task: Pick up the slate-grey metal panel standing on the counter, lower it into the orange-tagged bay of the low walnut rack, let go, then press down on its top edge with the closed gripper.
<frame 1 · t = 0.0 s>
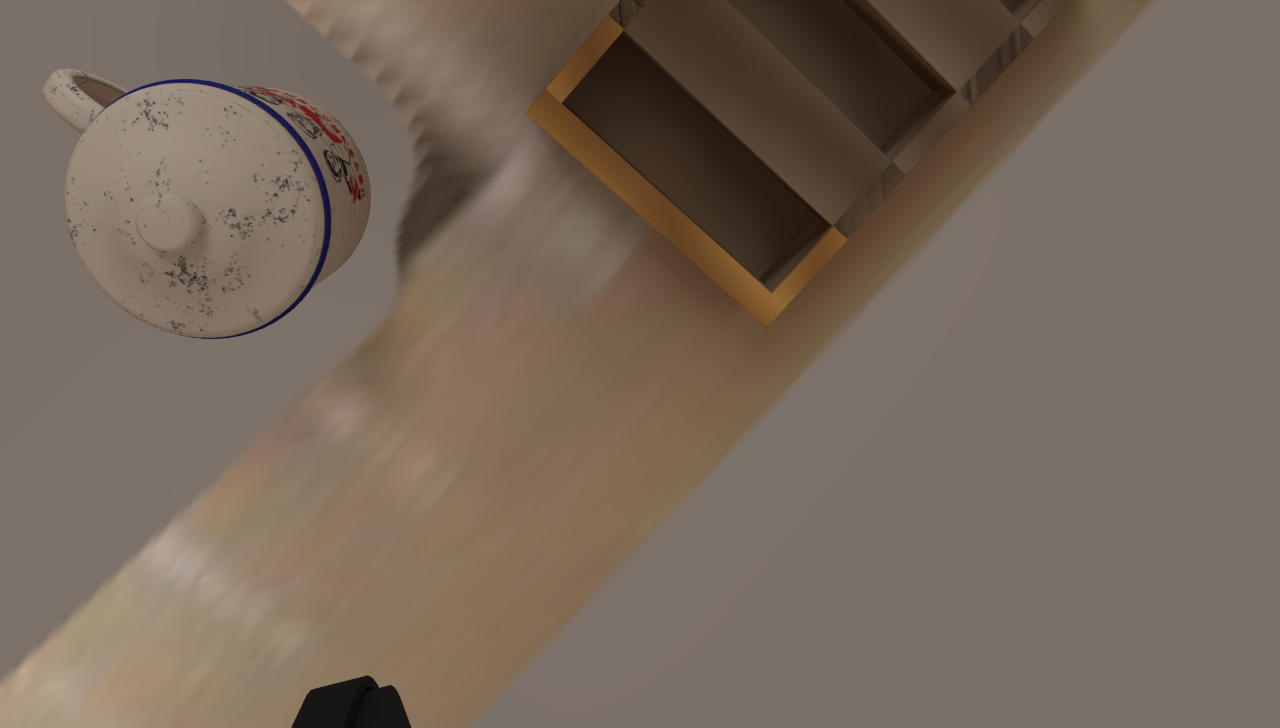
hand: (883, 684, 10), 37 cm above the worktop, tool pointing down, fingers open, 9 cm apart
teacup with lid: (244, 168, 44), on the worktop
rack: (800, 32, 44), on the worktop
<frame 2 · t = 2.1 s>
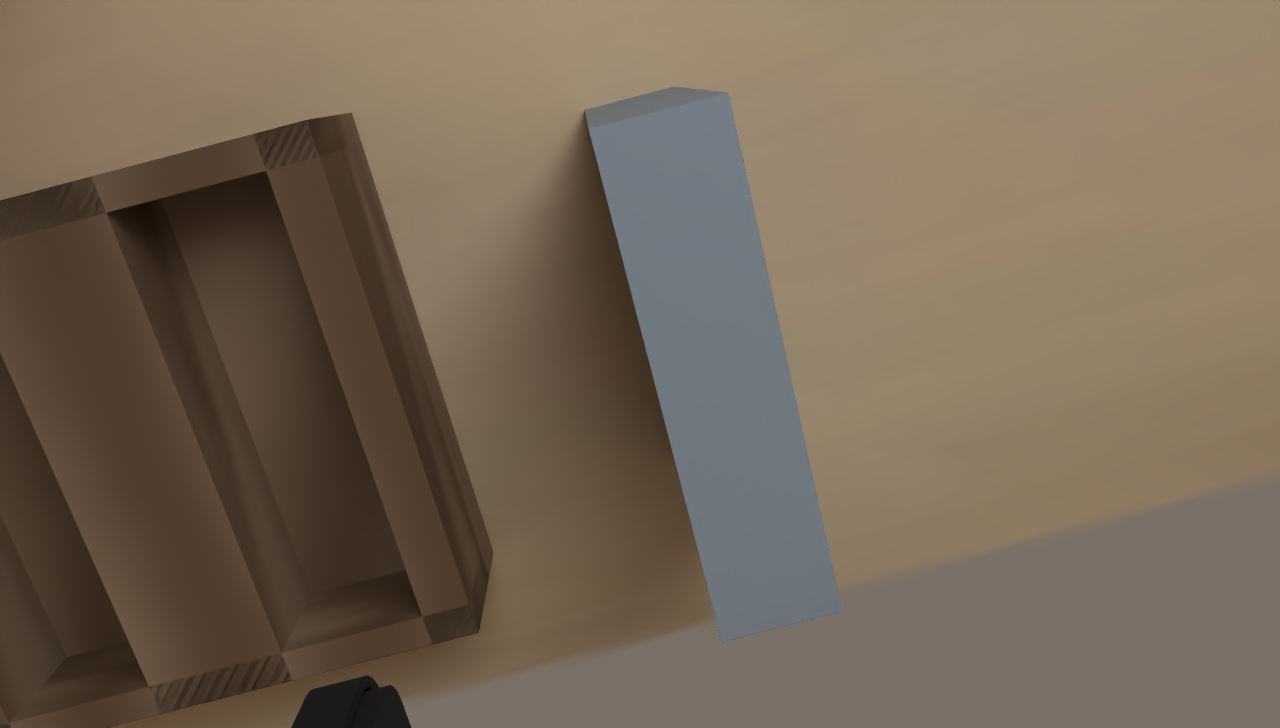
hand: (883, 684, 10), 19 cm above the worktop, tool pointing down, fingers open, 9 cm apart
panel: (674, 281, 28), on the worktop
rack: (74, 437, 28), on the worktop
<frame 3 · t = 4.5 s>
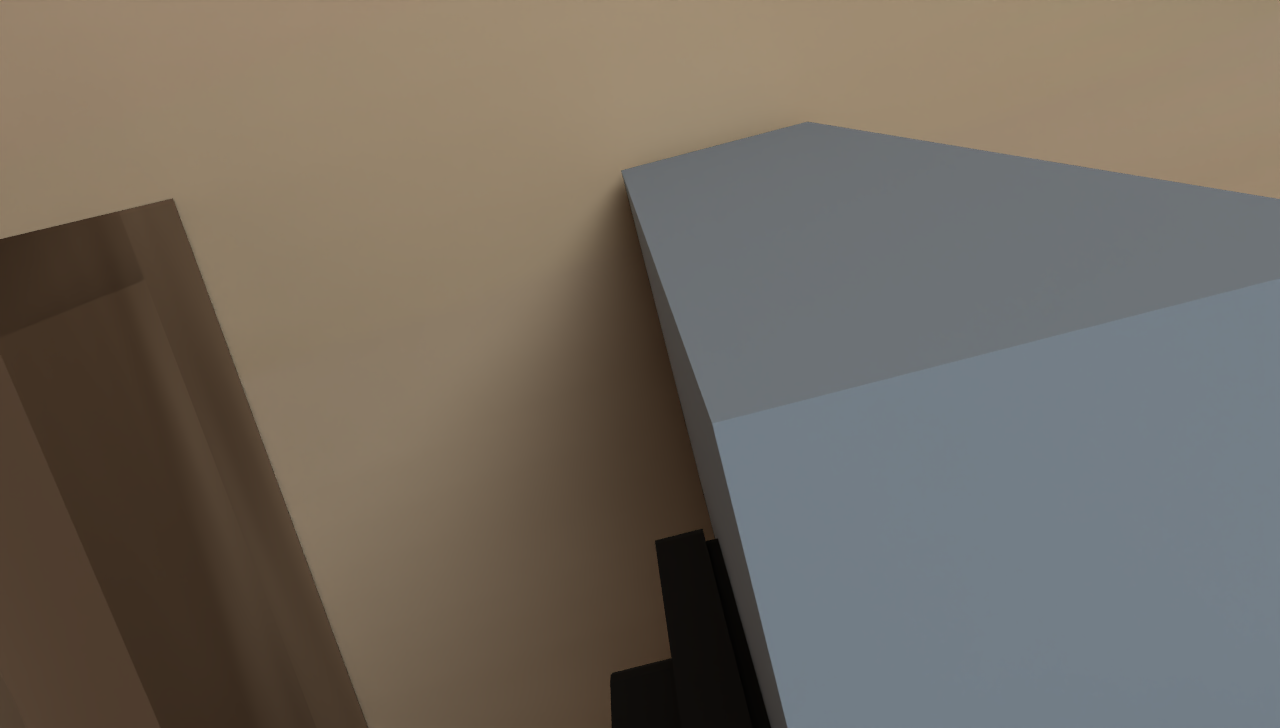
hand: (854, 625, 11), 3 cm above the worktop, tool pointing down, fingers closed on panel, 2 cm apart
panel: (796, 505, 14), on the worktop, touching gripper
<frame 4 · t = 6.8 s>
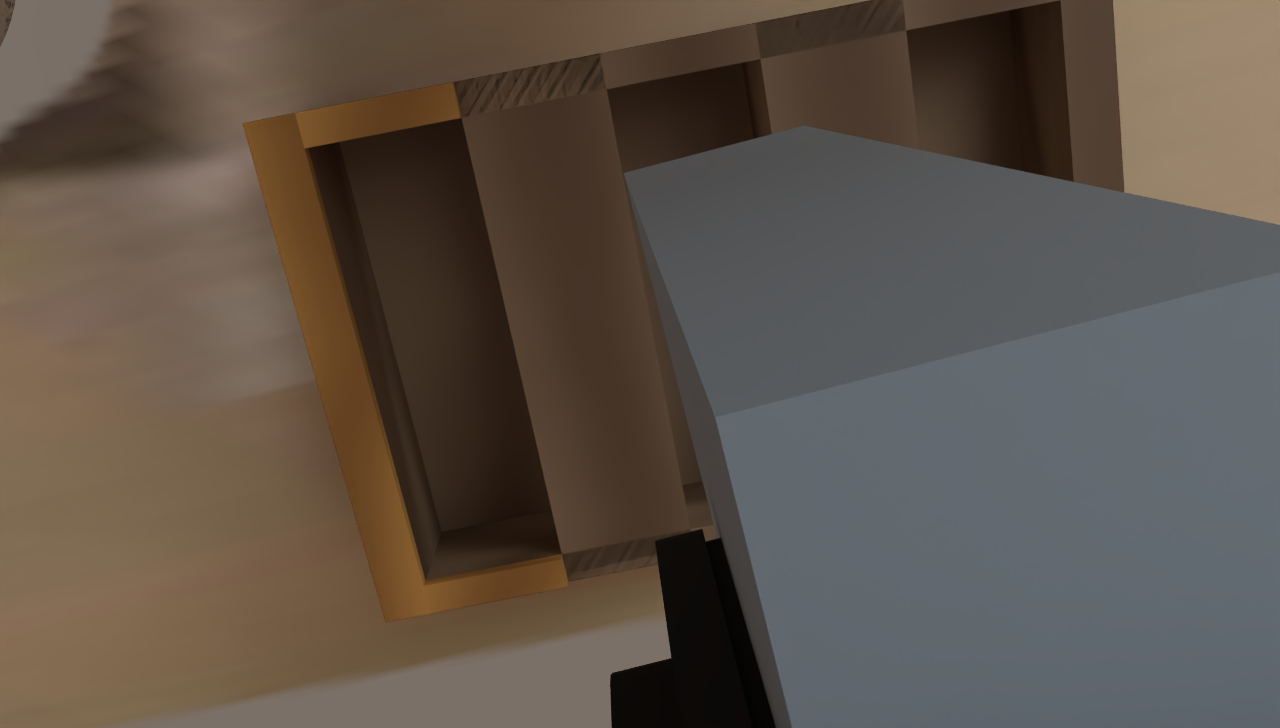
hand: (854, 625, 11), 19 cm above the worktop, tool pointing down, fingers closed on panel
panel: (794, 497, 15), point 16 cm above the worktop, touching gripper
rack: (703, 274, 29), on the worktop
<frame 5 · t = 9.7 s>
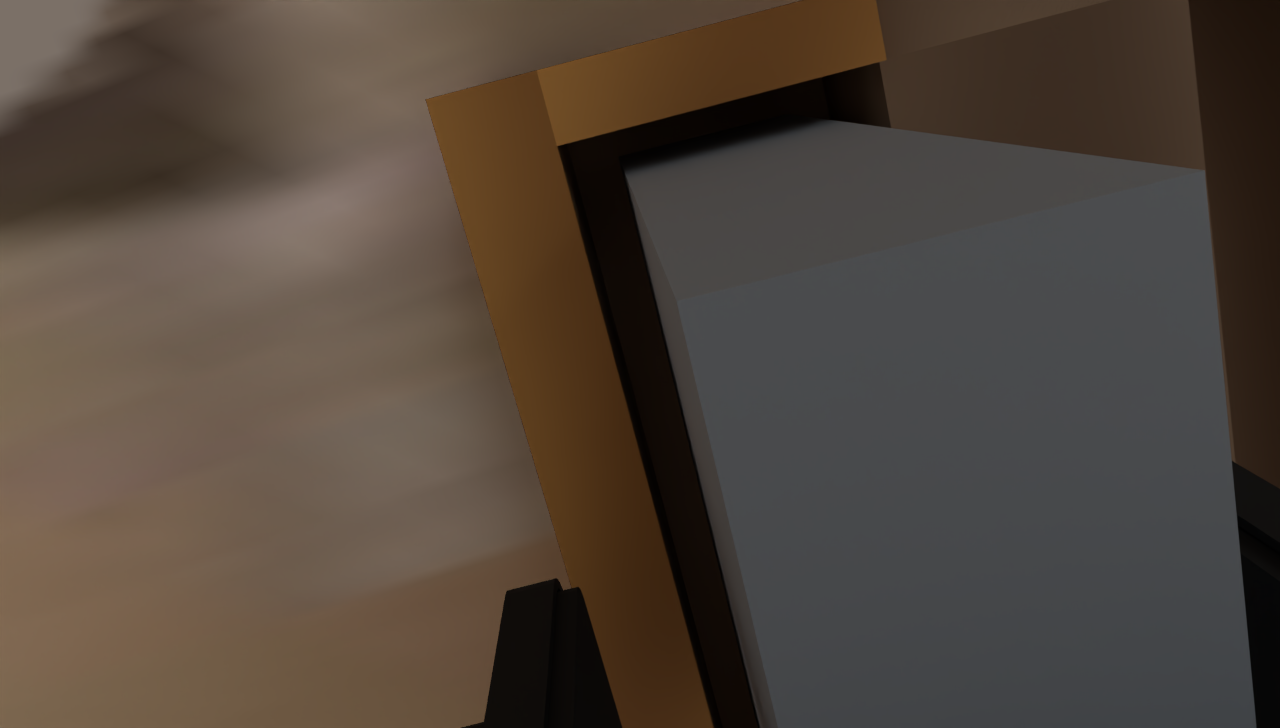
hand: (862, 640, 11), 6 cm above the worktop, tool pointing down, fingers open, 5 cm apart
panel: (775, 464, 16), point 1 cm above the worktop, touching rack
rack: (1176, 332, 17), on the worktop
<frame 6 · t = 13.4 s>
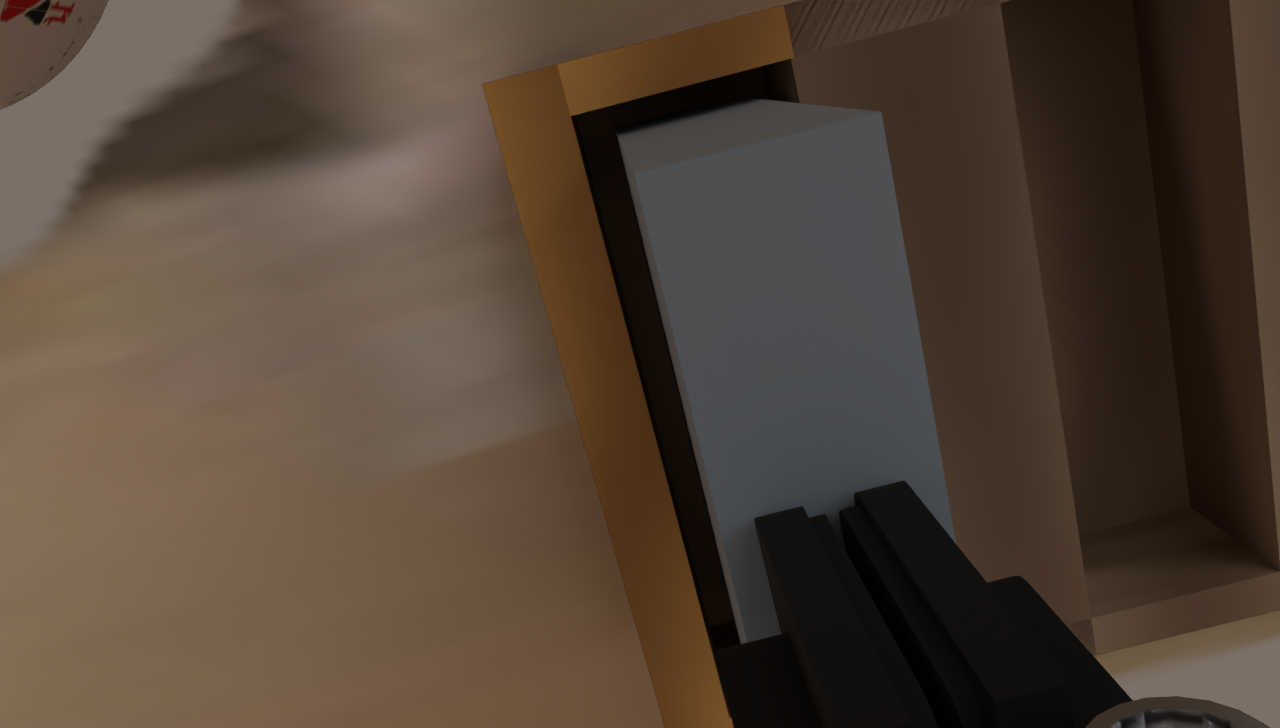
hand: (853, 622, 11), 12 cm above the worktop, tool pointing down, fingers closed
panel: (731, 360, 21), point 1 cm above the worktop, touching gripper, rack
rack: (1041, 265, 22), on the worktop
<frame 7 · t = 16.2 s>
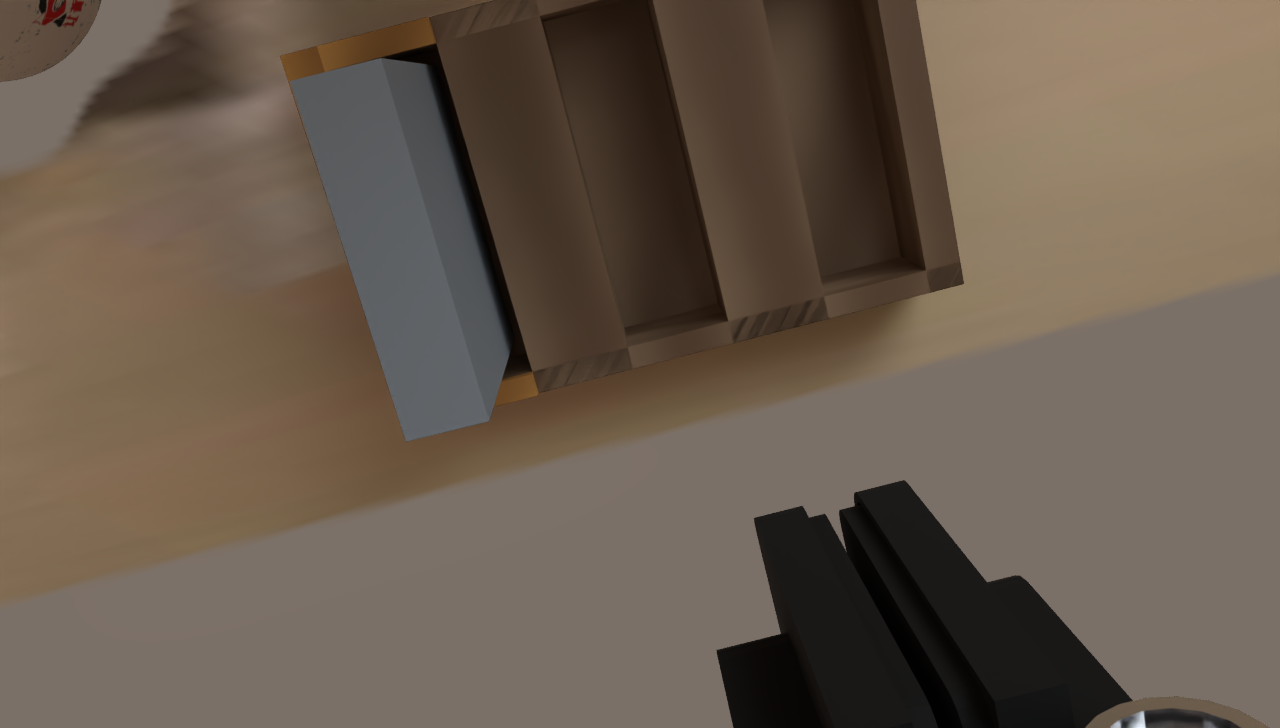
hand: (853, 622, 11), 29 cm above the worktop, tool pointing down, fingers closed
panel: (445, 214, 37), point 1 cm above the worktop, touching rack
rack: (632, 165, 38), on the worktop
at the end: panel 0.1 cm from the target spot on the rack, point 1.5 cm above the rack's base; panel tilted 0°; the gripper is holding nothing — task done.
